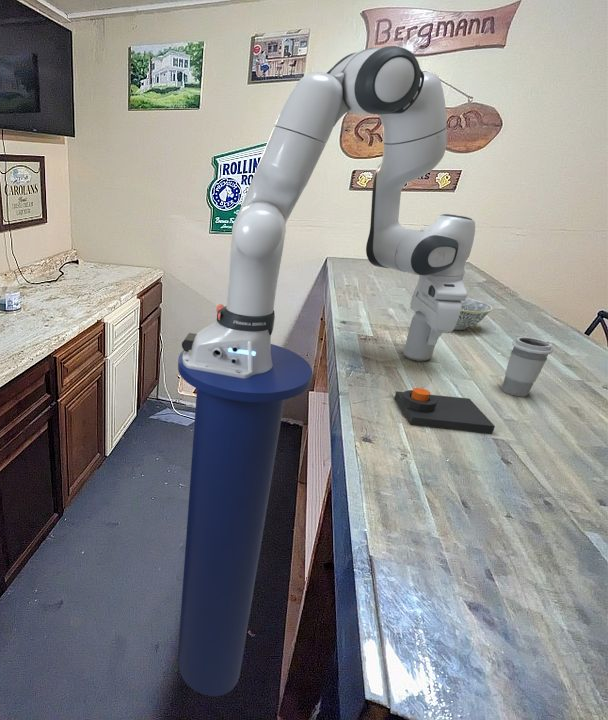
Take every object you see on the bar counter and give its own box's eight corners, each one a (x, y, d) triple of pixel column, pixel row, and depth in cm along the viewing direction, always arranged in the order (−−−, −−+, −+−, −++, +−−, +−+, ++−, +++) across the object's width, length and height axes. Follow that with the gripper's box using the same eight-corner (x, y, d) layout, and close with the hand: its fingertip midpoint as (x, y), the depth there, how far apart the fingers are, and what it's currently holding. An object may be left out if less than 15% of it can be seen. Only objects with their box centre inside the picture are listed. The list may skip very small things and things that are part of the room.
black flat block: (408, 424, 89) (412, 408, 88) (392, 397, 99) (395, 383, 98) (492, 433, 86) (498, 417, 85) (467, 405, 96) (472, 390, 95)
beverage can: (431, 364, 115) (444, 319, 110) (402, 358, 118) (414, 314, 113) (430, 355, 120) (443, 311, 115) (402, 350, 123) (414, 308, 118)
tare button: (413, 401, 91) (415, 393, 90) (408, 394, 94) (411, 386, 93) (430, 403, 91) (432, 395, 90) (425, 396, 93) (427, 388, 92)
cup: (541, 400, 98) (563, 349, 93) (506, 397, 99) (526, 346, 94) (521, 385, 104) (541, 336, 99) (489, 383, 105) (507, 334, 101)
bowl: (480, 322, 144) (487, 299, 141) (489, 338, 131) (497, 314, 128) (421, 315, 151) (427, 293, 148) (424, 329, 138) (431, 306, 135)
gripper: (410, 273, 121) (398, 323, 126) (439, 294, 103) (423, 351, 108) (437, 274, 119) (424, 324, 125) (471, 296, 101) (453, 353, 107)
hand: (424, 337), depth 116 cm, fingers open, 8 cm apart
